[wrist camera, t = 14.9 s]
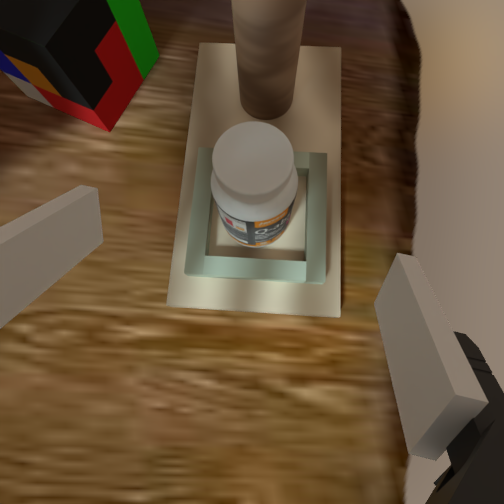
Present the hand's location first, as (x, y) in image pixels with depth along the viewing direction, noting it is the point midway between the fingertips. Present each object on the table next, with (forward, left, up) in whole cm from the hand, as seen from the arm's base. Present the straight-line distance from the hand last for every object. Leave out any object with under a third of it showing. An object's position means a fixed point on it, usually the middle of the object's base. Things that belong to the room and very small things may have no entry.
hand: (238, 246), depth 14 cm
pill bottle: (0, +6, -13) cm, 14 cm away
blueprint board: (0, +11, -14) cm, 18 cm away
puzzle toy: (-18, +21, -14) cm, 31 cm away
